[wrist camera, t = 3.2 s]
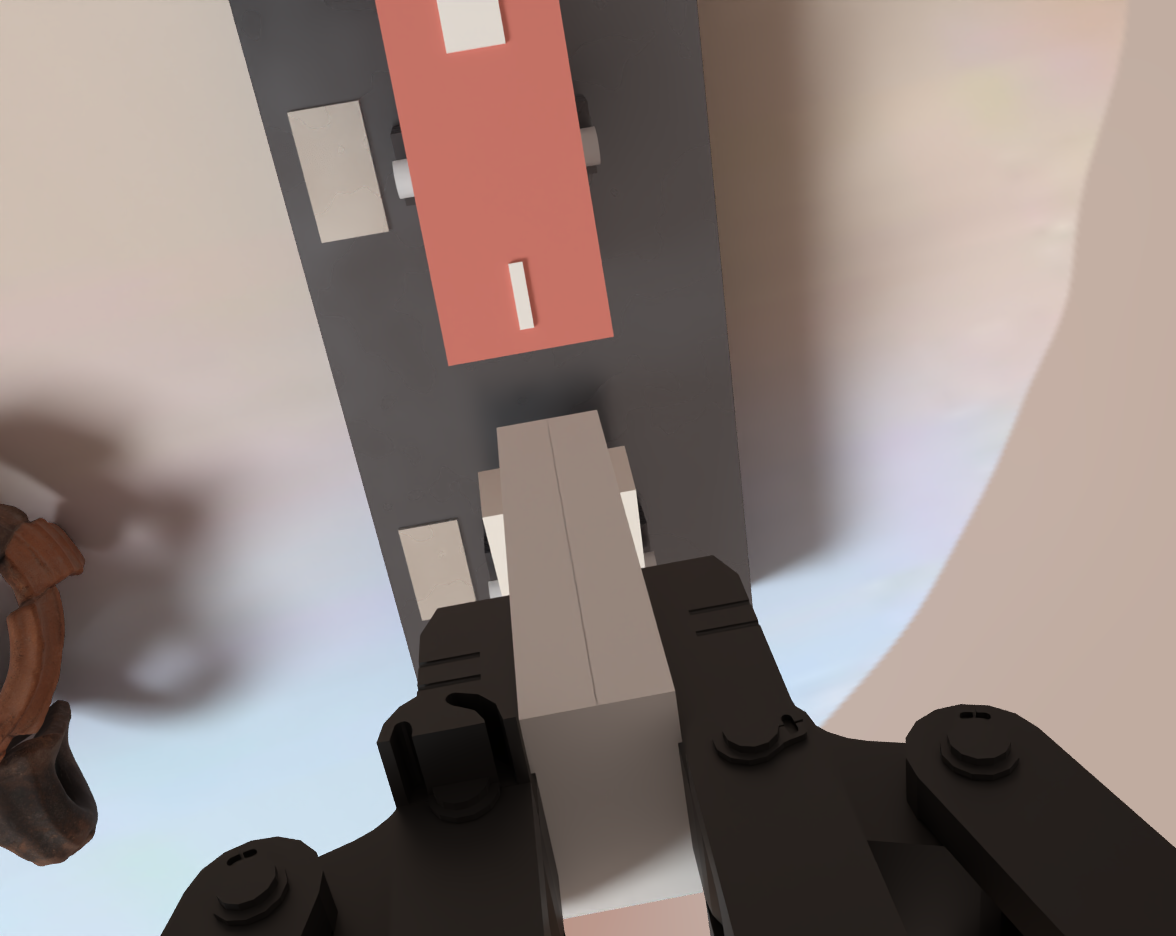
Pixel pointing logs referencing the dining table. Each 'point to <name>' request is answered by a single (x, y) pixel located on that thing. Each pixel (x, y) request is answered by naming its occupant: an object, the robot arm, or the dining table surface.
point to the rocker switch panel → (526, 380)
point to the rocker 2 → (495, 521)
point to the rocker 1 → (497, 173)
